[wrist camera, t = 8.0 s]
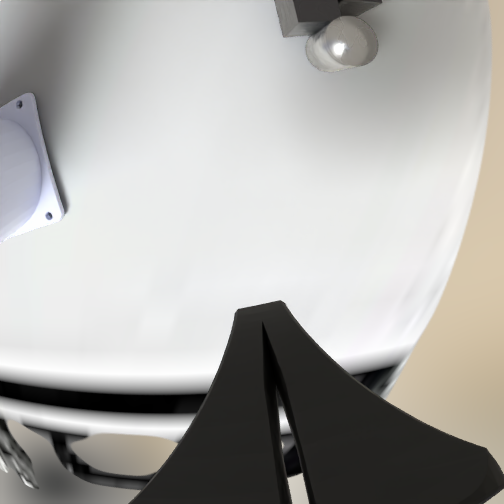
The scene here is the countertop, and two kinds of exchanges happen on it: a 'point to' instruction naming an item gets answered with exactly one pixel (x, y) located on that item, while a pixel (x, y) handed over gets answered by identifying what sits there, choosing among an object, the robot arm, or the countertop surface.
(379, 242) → the countertop surface
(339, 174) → the countertop surface
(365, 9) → the tongs fixed arm
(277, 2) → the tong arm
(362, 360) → the countertop surface
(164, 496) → the robot arm
